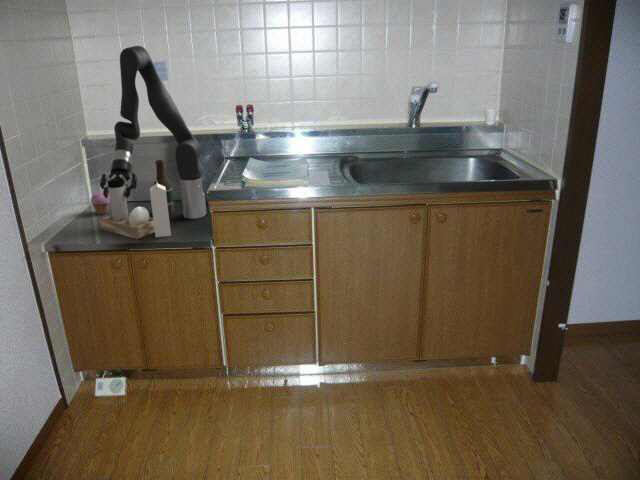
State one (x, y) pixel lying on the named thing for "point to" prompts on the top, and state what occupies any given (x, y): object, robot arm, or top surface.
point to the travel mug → (118, 199)
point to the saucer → (138, 216)
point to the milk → (160, 210)
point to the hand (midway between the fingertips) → (116, 197)
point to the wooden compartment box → (127, 227)
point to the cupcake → (100, 203)
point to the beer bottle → (164, 184)
